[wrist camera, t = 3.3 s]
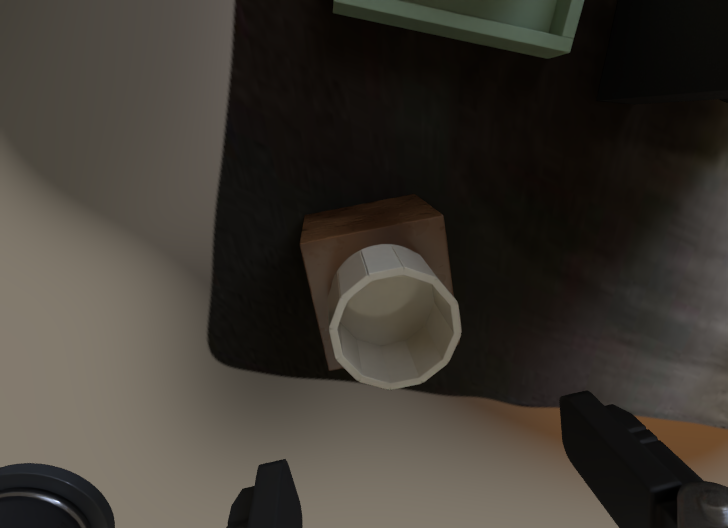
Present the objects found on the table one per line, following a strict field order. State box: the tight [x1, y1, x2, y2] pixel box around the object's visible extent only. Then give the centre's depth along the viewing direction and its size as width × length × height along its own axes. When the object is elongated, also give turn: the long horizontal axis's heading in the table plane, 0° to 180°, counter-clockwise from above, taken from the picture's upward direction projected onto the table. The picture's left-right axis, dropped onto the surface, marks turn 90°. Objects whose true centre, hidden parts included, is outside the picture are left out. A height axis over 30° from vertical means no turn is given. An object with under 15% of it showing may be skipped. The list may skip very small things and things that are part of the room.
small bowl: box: [328, 244, 462, 390], centre depth 23 cm, size 6×6×4 cm
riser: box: [299, 194, 460, 371], centre depth 29 cm, size 8×8×8 cm
